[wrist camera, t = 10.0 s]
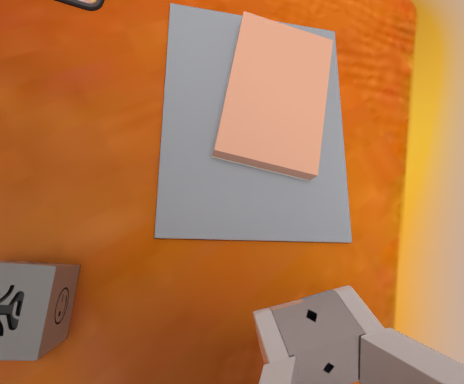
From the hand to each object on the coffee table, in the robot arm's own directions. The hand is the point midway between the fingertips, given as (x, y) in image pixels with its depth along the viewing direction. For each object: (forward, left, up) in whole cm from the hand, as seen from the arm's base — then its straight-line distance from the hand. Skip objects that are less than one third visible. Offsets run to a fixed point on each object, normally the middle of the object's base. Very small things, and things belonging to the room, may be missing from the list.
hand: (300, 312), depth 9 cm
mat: (+3, +14, -15) cm, 21 cm away
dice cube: (-13, -1, -16) cm, 21 cm away
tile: (+4, +9, -14) cm, 17 cm away
